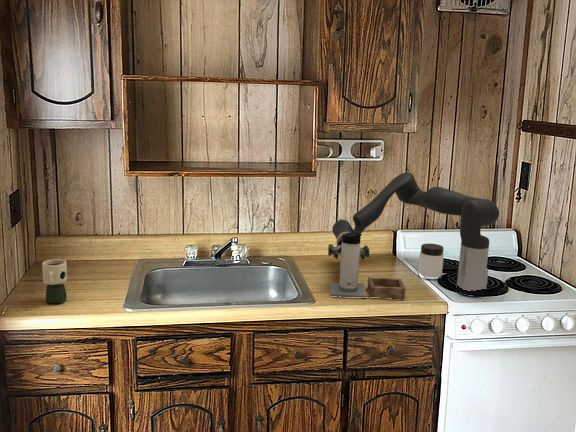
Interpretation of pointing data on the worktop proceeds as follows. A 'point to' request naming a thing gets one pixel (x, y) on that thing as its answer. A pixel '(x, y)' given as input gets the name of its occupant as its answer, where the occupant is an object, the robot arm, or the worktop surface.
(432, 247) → the jar
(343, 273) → the travel mug
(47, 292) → the character mug
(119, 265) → the worktop surface
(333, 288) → the cover plate
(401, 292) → the walnut holder
